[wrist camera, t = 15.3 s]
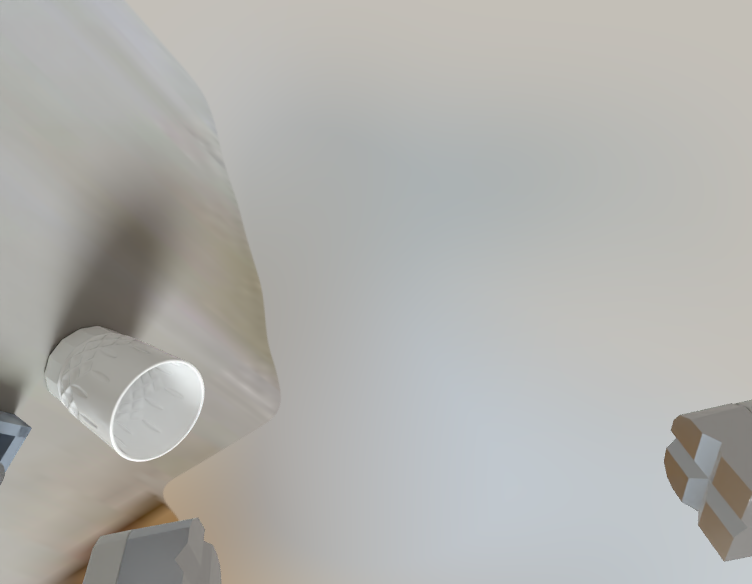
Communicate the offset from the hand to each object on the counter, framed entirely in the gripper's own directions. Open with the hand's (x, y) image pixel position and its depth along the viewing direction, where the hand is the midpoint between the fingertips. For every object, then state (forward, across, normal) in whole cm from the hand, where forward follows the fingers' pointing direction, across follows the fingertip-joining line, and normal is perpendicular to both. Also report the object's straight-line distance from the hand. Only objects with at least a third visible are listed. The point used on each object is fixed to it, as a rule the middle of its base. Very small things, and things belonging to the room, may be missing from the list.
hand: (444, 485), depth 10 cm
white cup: (+33, +23, +20) cm, 45 cm away
